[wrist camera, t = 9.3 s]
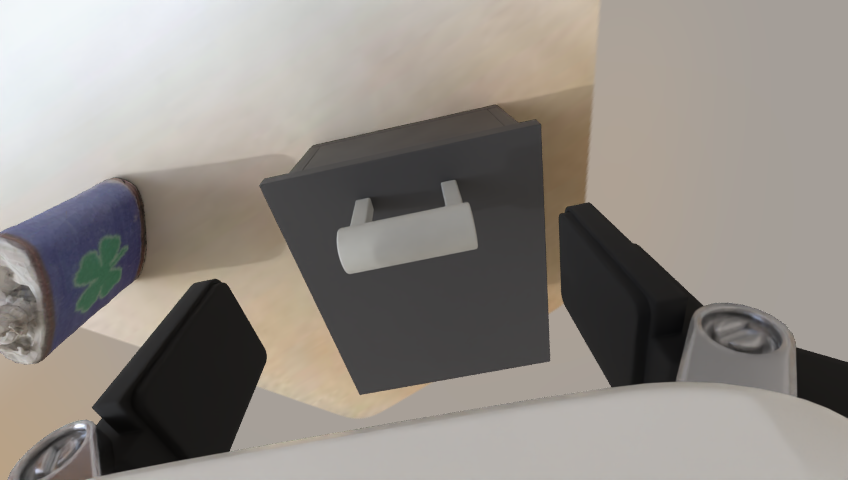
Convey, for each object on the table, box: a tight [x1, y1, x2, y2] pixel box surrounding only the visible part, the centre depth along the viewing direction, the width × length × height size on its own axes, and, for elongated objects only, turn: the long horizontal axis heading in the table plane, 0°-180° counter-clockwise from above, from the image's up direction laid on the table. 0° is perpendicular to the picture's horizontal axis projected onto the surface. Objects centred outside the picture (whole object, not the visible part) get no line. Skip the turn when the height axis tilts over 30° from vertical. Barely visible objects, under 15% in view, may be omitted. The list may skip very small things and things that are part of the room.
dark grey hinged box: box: [290, 105, 518, 173], centre depth 25 cm, size 15×13×8 cm
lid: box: [259, 119, 550, 395], centre depth 19 cm, size 15×13×5 cm
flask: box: [0, 178, 146, 364], centre depth 24 cm, size 9×3×11 cm, turn 159°
